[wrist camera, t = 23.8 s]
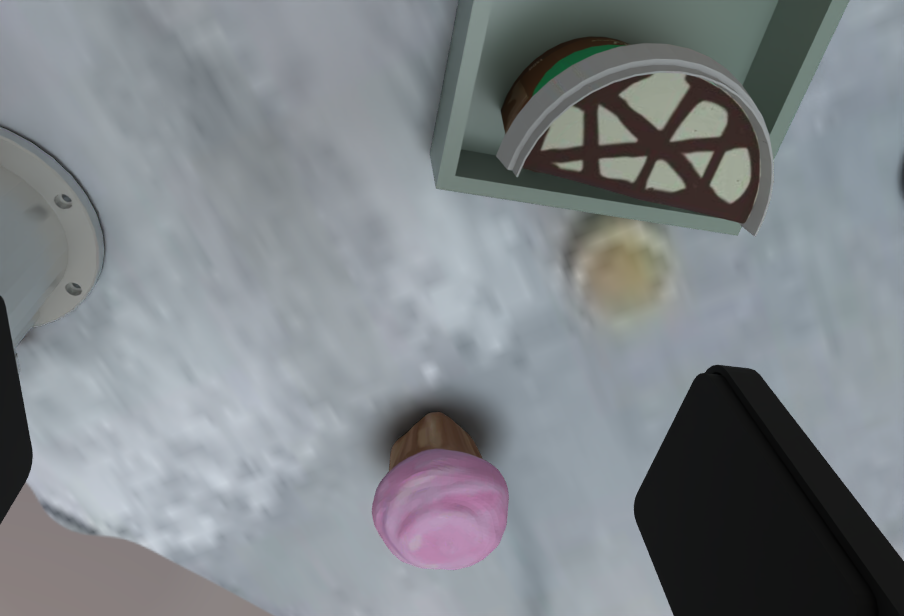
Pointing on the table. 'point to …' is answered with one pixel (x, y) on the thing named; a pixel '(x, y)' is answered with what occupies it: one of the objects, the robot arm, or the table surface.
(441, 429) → the cupcake
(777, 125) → the tote
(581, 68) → the food container
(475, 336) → the table surface
